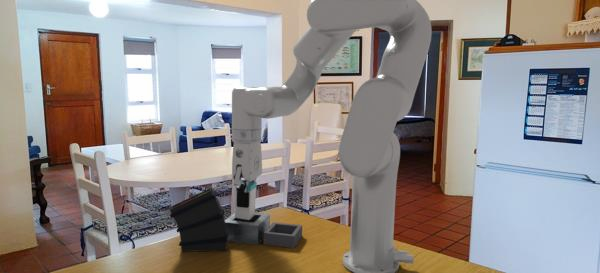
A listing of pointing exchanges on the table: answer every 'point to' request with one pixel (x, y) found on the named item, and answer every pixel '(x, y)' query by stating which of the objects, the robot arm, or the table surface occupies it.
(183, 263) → the table surface
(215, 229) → the magazine
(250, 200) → the plug
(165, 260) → the table surface
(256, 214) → the port block
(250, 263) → the table surface
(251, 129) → the robot arm
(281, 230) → the grey square frame
